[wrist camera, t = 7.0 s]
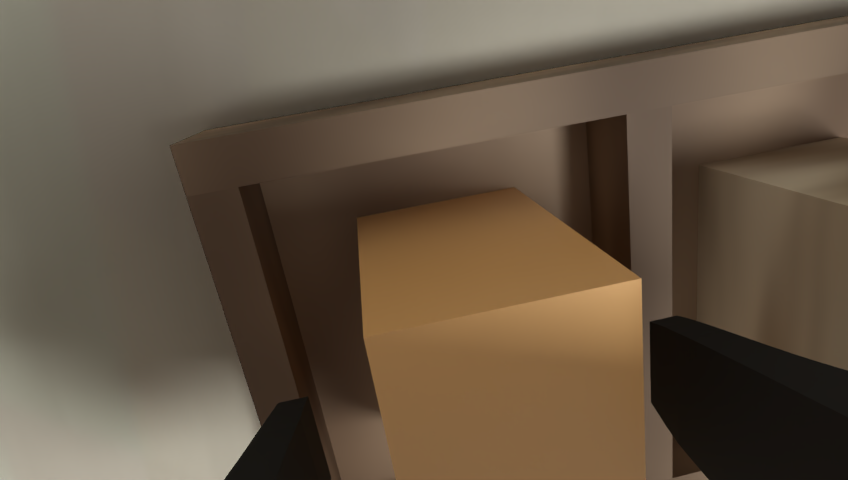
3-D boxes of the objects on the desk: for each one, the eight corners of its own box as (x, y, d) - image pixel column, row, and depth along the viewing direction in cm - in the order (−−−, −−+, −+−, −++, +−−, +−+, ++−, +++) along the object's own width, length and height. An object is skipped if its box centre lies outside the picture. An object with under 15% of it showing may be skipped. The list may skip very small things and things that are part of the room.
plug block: (514, 187, 13) (641, 278, 7) (535, 386, 15) (647, 579, 9) (356, 217, 13) (362, 337, 7) (399, 417, 15) (431, 635, 9)
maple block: (839, 137, 14) (1093, 172, 9) (818, 332, 16) (1017, 444, 11) (698, 164, 13) (887, 216, 9) (696, 360, 15) (847, 488, 11)
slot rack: (935, -1, 14) (1064, -15, 11) (876, 382, 18) (962, 433, 15) (205, 129, 12) (169, 145, 10) (321, 515, 16) (316, 595, 14)
